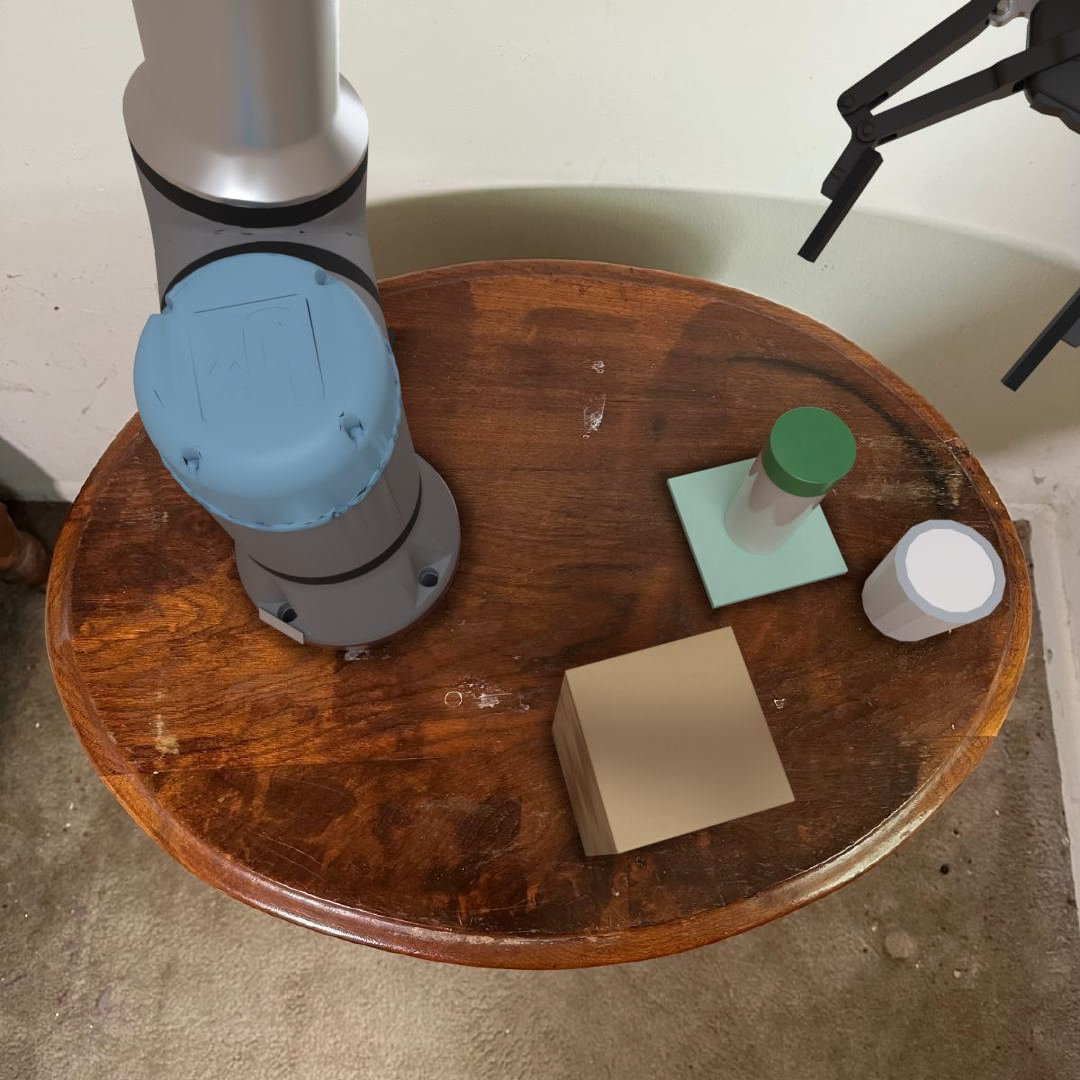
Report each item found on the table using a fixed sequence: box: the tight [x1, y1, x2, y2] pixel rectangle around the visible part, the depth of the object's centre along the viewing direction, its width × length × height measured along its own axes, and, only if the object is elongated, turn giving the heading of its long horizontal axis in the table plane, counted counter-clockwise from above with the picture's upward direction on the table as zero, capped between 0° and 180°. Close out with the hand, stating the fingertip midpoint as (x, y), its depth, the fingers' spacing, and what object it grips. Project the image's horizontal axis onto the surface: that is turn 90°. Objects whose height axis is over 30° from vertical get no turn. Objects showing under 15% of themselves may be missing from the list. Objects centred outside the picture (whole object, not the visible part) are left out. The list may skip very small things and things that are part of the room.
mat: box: [666, 457, 849, 610], centre depth 59 cm, size 10×10×1 cm
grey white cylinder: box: [861, 519, 1007, 642], centre depth 54 cm, size 7×7×7 cm
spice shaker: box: [725, 406, 857, 555], centre depth 53 cm, size 5×5×12 cm
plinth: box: [550, 626, 796, 857], centre depth 44 cm, size 8×8×18 cm
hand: (902, 321), depth 48 cm, fingers open, 13 cm apart
